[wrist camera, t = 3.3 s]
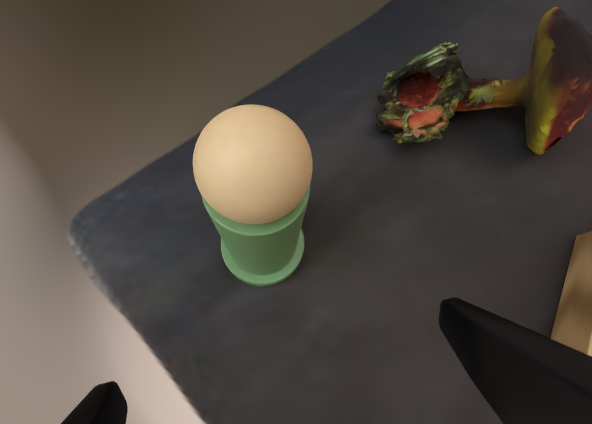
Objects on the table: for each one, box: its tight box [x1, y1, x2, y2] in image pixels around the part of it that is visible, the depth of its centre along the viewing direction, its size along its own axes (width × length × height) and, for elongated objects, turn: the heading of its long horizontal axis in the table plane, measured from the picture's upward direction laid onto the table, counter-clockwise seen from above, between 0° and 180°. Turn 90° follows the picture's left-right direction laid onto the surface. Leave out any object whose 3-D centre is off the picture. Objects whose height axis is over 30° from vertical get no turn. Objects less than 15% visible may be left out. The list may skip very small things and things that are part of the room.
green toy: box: [193, 105, 313, 286], centre depth 16 cm, size 6×6×14 cm
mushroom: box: [376, 7, 592, 155], centre depth 26 cm, size 12×12×15 cm
